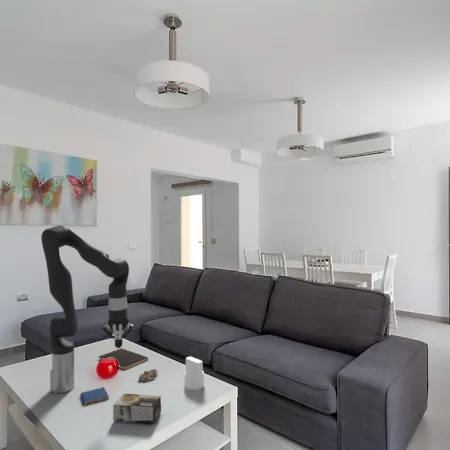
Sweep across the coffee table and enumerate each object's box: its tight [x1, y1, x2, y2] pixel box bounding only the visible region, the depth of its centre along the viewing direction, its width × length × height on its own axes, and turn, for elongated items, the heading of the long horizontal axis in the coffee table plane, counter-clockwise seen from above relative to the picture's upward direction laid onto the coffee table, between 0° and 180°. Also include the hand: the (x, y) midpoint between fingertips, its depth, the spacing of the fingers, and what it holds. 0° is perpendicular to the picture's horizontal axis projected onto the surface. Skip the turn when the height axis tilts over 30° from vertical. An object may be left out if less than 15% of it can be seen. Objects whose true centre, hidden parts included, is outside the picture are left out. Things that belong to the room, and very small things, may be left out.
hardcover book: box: [98, 347, 149, 370], centre depth 189 cm, size 16×23×2 cm
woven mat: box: [79, 387, 110, 406], centre depth 148 cm, size 10×11×2 cm
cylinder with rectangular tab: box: [183, 356, 205, 391], centre depth 158 cm, size 9×9×12 cm
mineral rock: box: [138, 368, 158, 383], centre depth 167 cm, size 11×4×8 cm
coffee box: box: [112, 393, 162, 424], centre depth 133 cm, size 9×6×16 cm
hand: (118, 347), depth 143 cm, fingers closed
